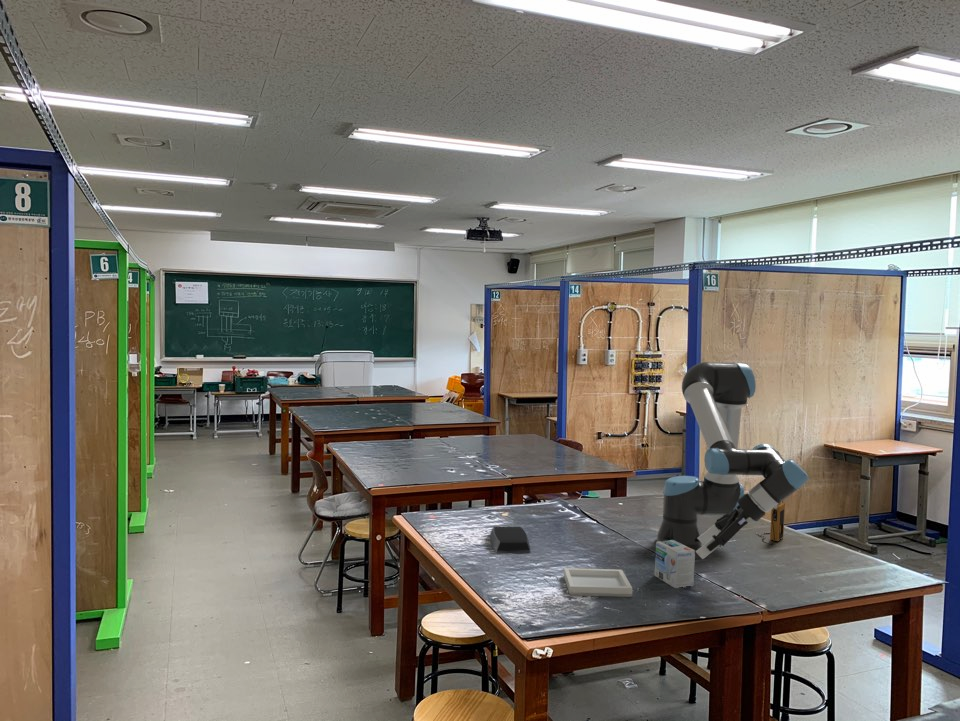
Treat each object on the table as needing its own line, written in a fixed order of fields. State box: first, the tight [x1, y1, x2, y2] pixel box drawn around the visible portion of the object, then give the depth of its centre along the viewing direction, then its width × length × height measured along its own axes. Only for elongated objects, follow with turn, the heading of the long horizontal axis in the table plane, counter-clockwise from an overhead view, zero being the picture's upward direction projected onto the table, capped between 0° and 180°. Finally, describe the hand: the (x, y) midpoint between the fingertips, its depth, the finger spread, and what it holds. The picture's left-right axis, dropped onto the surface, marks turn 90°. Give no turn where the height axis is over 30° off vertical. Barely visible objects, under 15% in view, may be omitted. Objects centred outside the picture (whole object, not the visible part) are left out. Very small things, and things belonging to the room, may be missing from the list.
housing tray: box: [563, 567, 634, 598], centre depth 193 cm, size 14×17×2 cm
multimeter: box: [756, 500, 786, 544], centre depth 244 cm, size 15×10×20 cm
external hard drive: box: [489, 526, 531, 554], centre depth 230 cm, size 13×19×4 cm
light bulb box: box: [654, 540, 696, 589], centre depth 199 cm, size 11×7×11 cm, turn 21°
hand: (699, 548), depth 195 cm, fingers open, 13 cm apart
